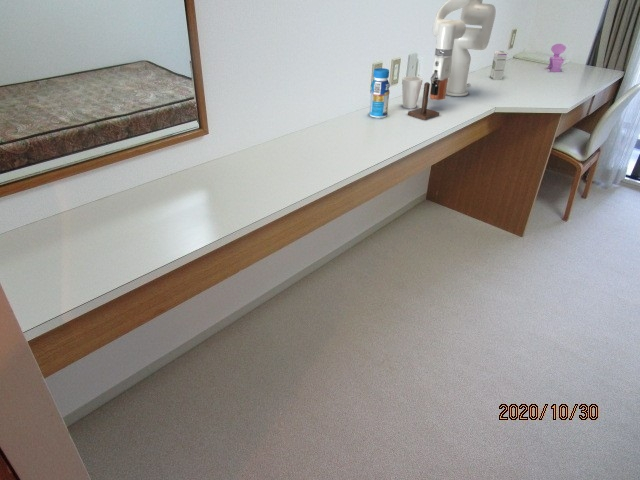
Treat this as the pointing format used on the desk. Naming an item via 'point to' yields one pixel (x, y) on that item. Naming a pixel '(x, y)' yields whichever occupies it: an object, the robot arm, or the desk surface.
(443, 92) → the cup
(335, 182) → the desk surface
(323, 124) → the desk surface
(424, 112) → the holder
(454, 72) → the robot arm
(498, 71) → the syrup box
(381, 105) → the beverage bottle
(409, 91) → the foam cup
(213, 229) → the desk surface
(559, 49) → the pink figurine
